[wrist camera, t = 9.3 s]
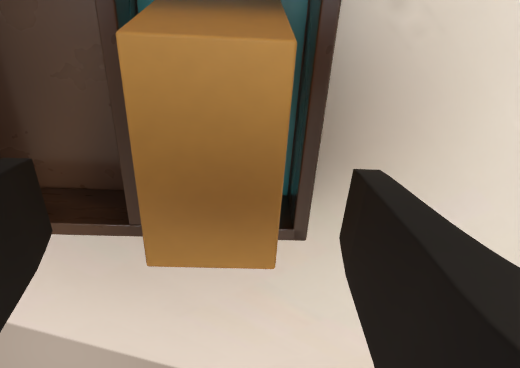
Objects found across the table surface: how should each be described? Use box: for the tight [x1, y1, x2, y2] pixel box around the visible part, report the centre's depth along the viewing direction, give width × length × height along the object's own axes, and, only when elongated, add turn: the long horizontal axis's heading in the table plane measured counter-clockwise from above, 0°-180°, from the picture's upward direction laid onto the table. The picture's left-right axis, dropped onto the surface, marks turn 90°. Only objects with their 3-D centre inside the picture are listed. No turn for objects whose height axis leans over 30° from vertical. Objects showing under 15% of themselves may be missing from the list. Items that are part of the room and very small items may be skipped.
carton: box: [116, 0, 297, 269], centre depth 13 cm, size 4×7×6 cm, turn 177°
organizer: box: [0, 0, 341, 241], centre depth 15 cm, size 14×11×3 cm
